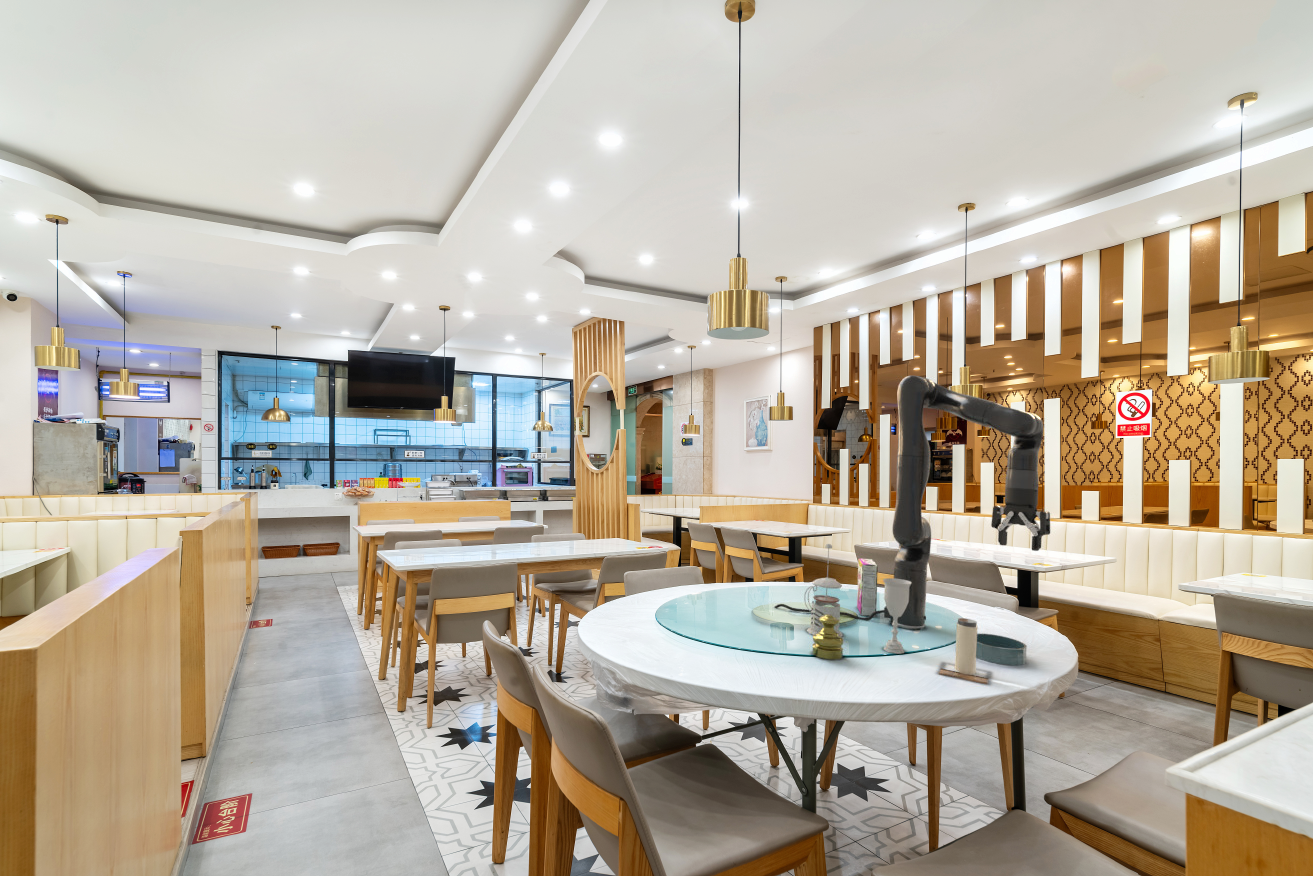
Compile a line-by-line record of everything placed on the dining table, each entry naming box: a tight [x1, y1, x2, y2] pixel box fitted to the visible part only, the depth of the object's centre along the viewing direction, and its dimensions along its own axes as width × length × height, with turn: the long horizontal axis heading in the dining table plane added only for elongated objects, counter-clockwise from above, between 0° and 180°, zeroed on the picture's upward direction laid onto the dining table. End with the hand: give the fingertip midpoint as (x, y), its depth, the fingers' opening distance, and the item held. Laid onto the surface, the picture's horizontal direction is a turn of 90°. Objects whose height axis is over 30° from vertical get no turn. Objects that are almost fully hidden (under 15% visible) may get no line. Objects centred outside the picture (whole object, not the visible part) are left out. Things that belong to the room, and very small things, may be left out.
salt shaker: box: [811, 614, 845, 661], centre depth 154 cm, size 7×7×10 cm
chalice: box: [882, 577, 911, 655], centre depth 161 cm, size 7×7×18 cm
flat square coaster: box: [938, 668, 989, 685], centre depth 146 cm, size 10×10×1 cm
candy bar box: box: [856, 558, 879, 618], centre depth 200 cm, size 11×5×16 cm, turn 168°
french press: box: [803, 543, 844, 638], centre depth 175 cm, size 10×12×25 cm
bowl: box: [976, 632, 1027, 666], centre depth 158 cm, size 13×13×4 cm
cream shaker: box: [954, 617, 978, 675], centre depth 146 cm, size 4×4×12 cm
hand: (1018, 547), depth 164 cm, fingers open, 8 cm apart
